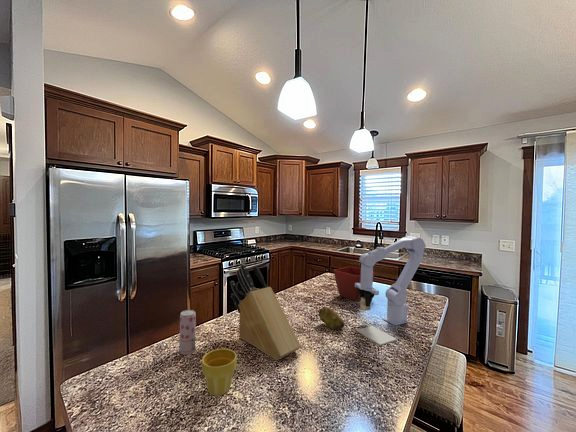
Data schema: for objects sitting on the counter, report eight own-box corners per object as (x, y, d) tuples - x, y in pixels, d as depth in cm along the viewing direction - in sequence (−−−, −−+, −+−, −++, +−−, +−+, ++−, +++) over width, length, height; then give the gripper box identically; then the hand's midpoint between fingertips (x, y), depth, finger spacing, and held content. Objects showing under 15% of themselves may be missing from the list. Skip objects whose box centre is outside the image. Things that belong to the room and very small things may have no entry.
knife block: (247, 323, 125) (248, 259, 124) (301, 353, 100) (303, 273, 99) (227, 330, 117) (228, 262, 116) (280, 365, 92) (282, 279, 91)
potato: (331, 334, 116) (332, 316, 116) (315, 322, 128) (316, 306, 127) (346, 330, 120) (346, 313, 120) (329, 319, 132) (329, 303, 131)
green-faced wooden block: (366, 307, 131) (366, 296, 131) (370, 309, 129) (370, 297, 129) (360, 309, 130) (360, 297, 129) (364, 311, 127) (364, 298, 127)
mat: (372, 326, 124) (372, 325, 124) (396, 340, 112) (396, 339, 112) (356, 331, 120) (356, 329, 120) (379, 345, 107) (379, 344, 107)
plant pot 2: (349, 289, 180) (350, 265, 180) (374, 297, 166) (375, 271, 166) (332, 295, 167) (333, 269, 167) (358, 304, 153) (359, 276, 153)
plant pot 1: (205, 377, 85) (206, 348, 84) (237, 376, 86) (238, 347, 85) (197, 401, 74) (197, 367, 74) (234, 399, 75) (234, 366, 75)
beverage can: (179, 348, 102) (179, 310, 101) (195, 345, 104) (195, 308, 103) (179, 356, 96) (179, 316, 96) (195, 353, 98) (196, 314, 98)
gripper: (350, 275, 134) (349, 301, 134) (371, 282, 121) (370, 311, 121) (361, 273, 137) (360, 299, 137) (382, 281, 124) (381, 309, 124)
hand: (365, 305), depth 129 cm, fingers closed on green-faced wooden block, 2 cm apart
